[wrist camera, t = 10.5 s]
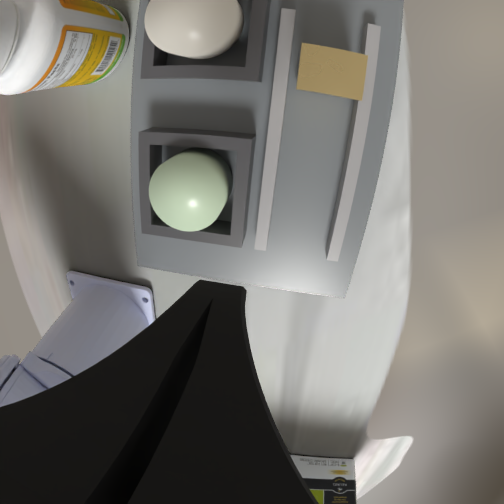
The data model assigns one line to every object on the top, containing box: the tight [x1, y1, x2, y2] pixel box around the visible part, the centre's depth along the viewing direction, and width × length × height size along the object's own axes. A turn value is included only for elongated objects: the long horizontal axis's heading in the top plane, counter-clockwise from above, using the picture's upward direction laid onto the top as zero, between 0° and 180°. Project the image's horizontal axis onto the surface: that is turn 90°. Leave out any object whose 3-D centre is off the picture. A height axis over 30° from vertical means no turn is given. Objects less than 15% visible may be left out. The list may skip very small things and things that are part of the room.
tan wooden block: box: [296, 43, 368, 101], centre depth 11 cm, size 2×2×3 cm
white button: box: [144, 0, 244, 59], centre depth 10 cm, size 4×4×2 cm
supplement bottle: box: [0, 0, 129, 95], centre depth 10 cm, size 5×5×10 cm
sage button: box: [149, 147, 233, 232], centre depth 15 cm, size 4×4×2 cm
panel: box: [131, 0, 404, 298], centre depth 14 cm, size 18×13×4 cm
